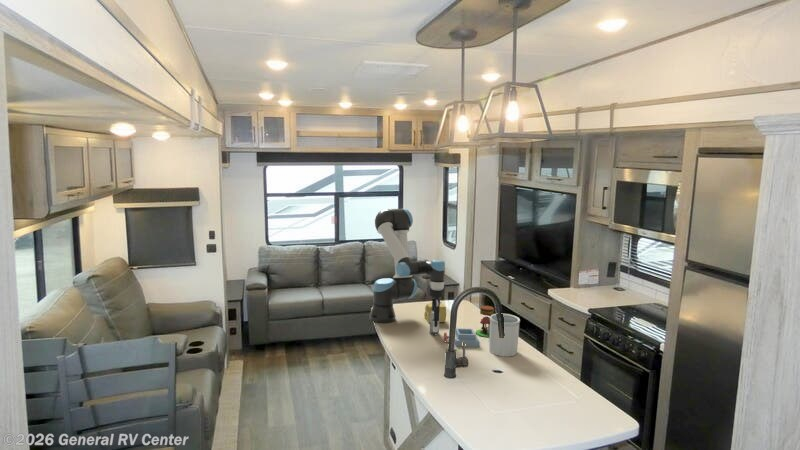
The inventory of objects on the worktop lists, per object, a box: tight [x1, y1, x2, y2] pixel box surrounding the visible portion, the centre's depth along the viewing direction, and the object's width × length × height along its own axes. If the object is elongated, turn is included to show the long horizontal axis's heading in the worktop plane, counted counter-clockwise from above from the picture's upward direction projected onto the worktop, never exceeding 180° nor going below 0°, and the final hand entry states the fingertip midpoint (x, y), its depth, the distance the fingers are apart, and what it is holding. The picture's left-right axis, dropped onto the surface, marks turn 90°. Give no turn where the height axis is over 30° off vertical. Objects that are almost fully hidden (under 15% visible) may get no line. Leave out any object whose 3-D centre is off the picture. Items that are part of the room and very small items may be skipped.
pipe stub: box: [429, 311, 440, 335], centre depth 267 cm, size 5×5×12 cm
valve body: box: [443, 327, 480, 348], centre depth 258 cm, size 14×17×6 cm
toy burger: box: [475, 305, 495, 338], centre depth 270 cm, size 12×13×15 cm
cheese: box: [423, 301, 447, 324], centre depth 290 cm, size 10×11×10 cm
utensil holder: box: [488, 313, 521, 358], centre depth 246 cm, size 15×15×18 cm
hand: (434, 329), depth 268 cm, fingers open, 7 cm apart
